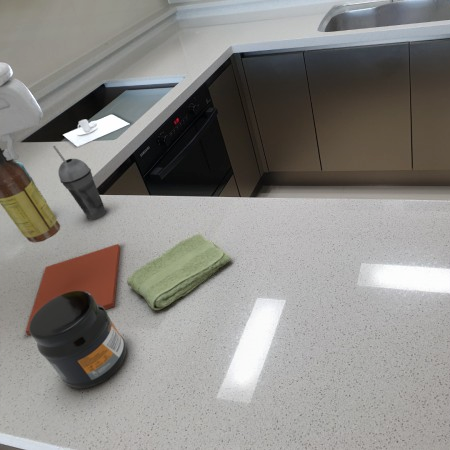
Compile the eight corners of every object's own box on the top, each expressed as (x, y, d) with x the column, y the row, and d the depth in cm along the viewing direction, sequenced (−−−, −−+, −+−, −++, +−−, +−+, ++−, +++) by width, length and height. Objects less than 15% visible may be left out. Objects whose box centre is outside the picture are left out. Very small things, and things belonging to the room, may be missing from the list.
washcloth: (236, 261, 90) (231, 249, 88) (158, 317, 81) (151, 304, 79) (200, 239, 98) (195, 227, 96) (126, 287, 90) (119, 275, 88)
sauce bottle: (49, 221, 89) (-9, 127, 78) (68, 227, 86) (10, 130, 75) (19, 242, 85) (-47, 145, 74) (38, 248, 82) (-28, 148, 71)
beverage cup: (117, 208, 117) (80, 137, 106) (94, 224, 113) (53, 152, 101) (99, 204, 121) (62, 135, 110) (76, 220, 116) (35, 149, 105)
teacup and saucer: (96, 124, 176) (91, 114, 174) (103, 128, 171) (98, 117, 168) (74, 133, 173) (69, 123, 170) (80, 137, 167) (75, 127, 165)
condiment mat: (28, 335, 84) (25, 331, 84) (47, 270, 100) (45, 266, 100) (114, 306, 86) (112, 302, 85) (120, 247, 102) (118, 243, 102)
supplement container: (140, 355, 75) (108, 303, 68) (81, 403, 69) (40, 352, 62) (110, 328, 81) (78, 279, 74) (54, 370, 76) (14, 321, 69)
